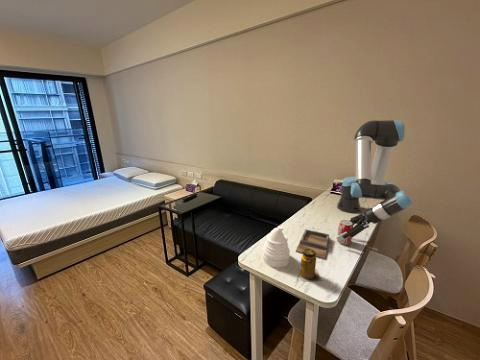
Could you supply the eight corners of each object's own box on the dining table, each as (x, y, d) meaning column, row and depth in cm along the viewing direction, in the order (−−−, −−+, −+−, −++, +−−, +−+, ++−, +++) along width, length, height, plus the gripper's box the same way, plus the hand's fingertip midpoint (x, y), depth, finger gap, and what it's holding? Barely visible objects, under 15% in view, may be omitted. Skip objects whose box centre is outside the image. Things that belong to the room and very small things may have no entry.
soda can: (334, 239, 124) (336, 219, 120) (346, 238, 125) (349, 219, 121) (340, 246, 117) (343, 226, 114) (353, 245, 118) (356, 225, 114)
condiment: (297, 269, 101) (299, 246, 98) (316, 269, 101) (318, 246, 98) (301, 281, 94) (303, 257, 91) (322, 281, 94) (324, 257, 91)
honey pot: (294, 257, 110) (296, 224, 104) (280, 271, 100) (282, 236, 95) (271, 247, 118) (272, 217, 112) (257, 260, 108) (257, 227, 103)
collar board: (304, 234, 131) (304, 228, 130) (329, 239, 125) (330, 234, 123) (295, 252, 114) (296, 246, 113) (324, 260, 108) (325, 254, 107)
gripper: (383, 230, 99) (341, 251, 111) (381, 210, 118) (345, 229, 130) (372, 217, 100) (331, 239, 112) (371, 199, 119) (337, 219, 131)
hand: (339, 233), depth 121 cm, fingers open, 11 cm apart
